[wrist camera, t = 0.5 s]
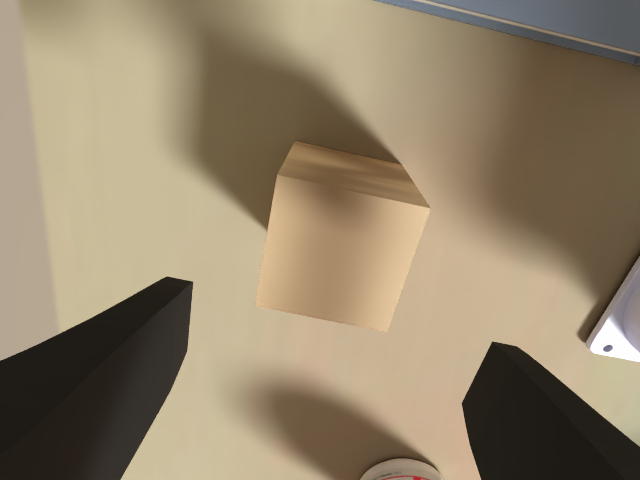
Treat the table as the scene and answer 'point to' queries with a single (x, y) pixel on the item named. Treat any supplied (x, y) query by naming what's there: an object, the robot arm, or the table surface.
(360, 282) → the oak block
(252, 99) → the table surface
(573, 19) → the book
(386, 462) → the pill bottle
